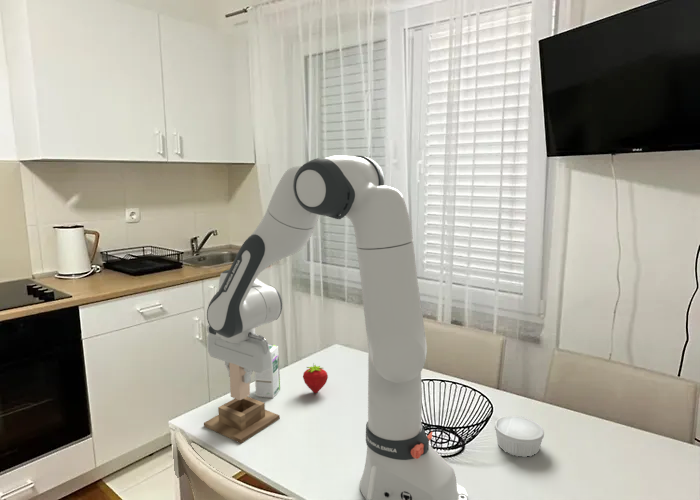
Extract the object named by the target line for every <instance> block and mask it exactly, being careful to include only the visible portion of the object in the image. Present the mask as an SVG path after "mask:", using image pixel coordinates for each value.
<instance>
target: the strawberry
mask: <svg viewBox="0 0 700 500" xmlns="http://www.w3.org/2000/svg"><path fill="white" fill-rule="evenodd" d="M302 378H303V381H304V384H305V385H306V386H307V387H308V388H309V390H311V392H312V393H314V394H317V393H319V392H320V390H321V389H323V387H324V386H325V384H326V383H327V381H328V378H329V375H328V372H327V371H326V370H324V368H323V367H321V365H316V364H315V363H313V364H312V366H306V370H305V371H304V372H303V376H302Z"/></svg>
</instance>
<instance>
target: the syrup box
mask: <svg viewBox="0 0 700 500" xmlns="http://www.w3.org/2000/svg"><path fill="white" fill-rule="evenodd" d="M268 346H269V349H270V355H271V367H270V369H269V370H267V371H265V372H263V373H258V372H255V371H254V382H255V387H254V388H255V396H256V397H258V398H269V399H275V397H276V396H277V394H278V393H279V391H280V390H281V381H280V380H281V377H280V356H279V355H280V354H279V345H277V344H269V343H268Z"/></svg>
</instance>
